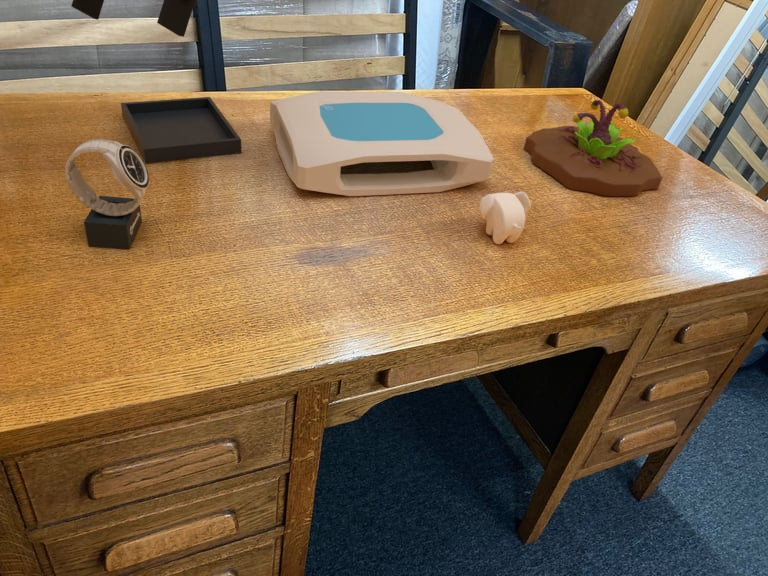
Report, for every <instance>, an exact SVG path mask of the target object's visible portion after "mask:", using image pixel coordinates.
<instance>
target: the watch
mask: <svg viewBox="0 0 768 576" xmlns="http://www.w3.org/2000/svg"><path fill="white" fill-rule="evenodd" d="M89 152H90V153H100V154H102V157H103V158H104V160H105V161H107V163H108V164H109V167H110V169H111V171H112V174H113V176H114V177H115V179H116V181H117V182H118V183H119V184H120V185H121V186H122V188H124V189H125V190H127V191H129V192H131V194H132V195H133V196H134V198H133V197H121V196H120V197H119V196H108V195H99V196H97V192H96V191H95V190H94V189H93V187H91V185H90V184H89V183H88V182H87V180H86V179H85V177H84V175H83V173H82V172H81V171H80V170H79V169H78V166H77V164H76V160H75V159H76V157H78V156H80V155H81V154H85V153H89ZM64 172H65V181H66V183H67V185H68V187H69V188H70V191H72V193H73V194H74V196H75V197H76V198H77V199H78V200H79V201H80V202H81V203H82V204H83V206H84V207H86V209H89V208H90V211H89V213H88V214H87V216H86V217H85V219H84V221H83V225H84V226H83V227H84V230H85V236H86V241H87V245H88V247H90V248H91V247H92V248H106V249H118V250H119V249H120V250H131V247H132V245H133V243H134V241H135V239H136V236H137V234H138V232H139V229H140V227H141V225H142V223H143V221H142V220H143V219H142V212H141V211H142V210H141V202H142V200H143V198H144V196H145V194H146V191H147V189H148V187H149V185H150V175H149V170H148V168H147V166H146V163H145V161H144V159H143V157H142V156H141V155H140V154H139V153H138V152H137V151H136V150H135V149H134V148H133V147H132V146H130V145H127V144H122V143H120V142H118V141H116V140H111V139H104V138H95V139H93V138H92V139H89V140H87V141H84V142H82V143H81V144H79V145H78V146H77V147H76V148H75V149H74V150H73V152H72V153H71V155H70V156H69V158H68V159H67V160H66V163H65V167H64Z"/></svg>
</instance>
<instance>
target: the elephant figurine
mask: <svg viewBox="0 0 768 576" xmlns="http://www.w3.org/2000/svg"><path fill="white" fill-rule="evenodd" d="M531 208H532V203H531V200H530V198H529V196H528V194H526V192H524V191H522V190H521V191H517V192H516V193H511V192H494V193H487V194H486V195H484V196H483V197H482V198H481V199H480V202H479V207H478V209H479V213H480V216H481V217H482V219H485V218H486V224H485V225H486V226H485V233H486V235H488V236H492V241H493V243H494V244H496V245H501V244H503V243H504V241H506V242H507V243H508V244H513V243H515V242H516V241H517V240H518V239H519V237H520V236H521V234H522V233H523V231H524V228H525V226H526V225H525V224H526V215H527V214H528V213H529V212H530V211H531Z"/></svg>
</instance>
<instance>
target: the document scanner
mask: <svg viewBox="0 0 768 576" xmlns="http://www.w3.org/2000/svg"><path fill="white" fill-rule="evenodd" d="M269 103H270V104H269V123H270V124H271V127H272V128H271V129H272V130H273V133H274V137H275V141H276V142H275V143H276V149H277V152H278V154H279V157H280V159H281V161H282V164H283V166H284V170H285V172H286V174H287V176H288V177H289V178H290V180H291V181H292V183H294V185H295V186H296V188H299V189H301V190H304V191H305V190H306V191H312V192H319V193H324V194H325V193H326V194H331V195H332V194H333V195H340V196H345V197H359V196H360V197H363V196H364V197H365V196H366V197H367V196H384V195H385V196H387V195H388V196H389V195H405V194H407V195H408V194H424V193H425V194H426V193H427V194H428V193H442V192H446V191H450V190H454V189H458V188H462V187H466V186H469V185H474V184H478V183H481V182H485V181H488V180H489V179H490V176H491V174H492V169H493V165H494V162H495V158H494V156H493V155H492V152H491V151H490V149H489V147H488V145H487V143H486V141H485V140H484V138H483V135H482V134H481V132H480V131H479V129H477V127H475V125H473V124H472V122H470V120H469V119H468V118H467V117H466V116H465V115H464V114H463V113H462V112H461V111H460V110H459V109H458V107H455V106H452V105H450V104H447V103H445V102H443V101H440V100H437V99H434V98H429V97H425V96H421V95H416V94H412V93H409V92H403V91H339V90H337V91H336V90H335V91H334V90H333V91H327V90H325V91H324V90H323V91H322V90H321V91H313V92H308V93H303V94H299V95H298V94H297V95H294V96H293V95H292V96H289V97H285V98H279V99H276V100H275V99H274V100H272V101H270V102H269ZM421 161H424V162H425V161H430V162H431V164H432V169H426V170H417V171H406V172H386V173H384V172H383V173H341V171H342V169H341V168H342V167H345V166H351V165H357V164H362V163H385V162H389V163H391V162H421Z"/></svg>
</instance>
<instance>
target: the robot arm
mask: <svg viewBox="0 0 768 576" xmlns="http://www.w3.org/2000/svg"><path fill="white" fill-rule="evenodd" d="M197 1H198V0H163V2H162V6H161V8H160V12H159V15H158V19H157V21H156V23H157V24H158V25H160V26H161V27H163V28H165V29H166V30H168V31H170V32H171V33H173V34H175V35H177V36H178V37H183V38H185V35H186V32H187V30H188V29H187V27H188V26H189V22H190V19H191V16H192V14H193V13H192V12H193V9H194V6H195V3H196V2H197ZM104 2H105V0H72V3H71V8H73V9H75V10H77V11H78V12H81V13H83V14H84V15H85V16H88V17H89V18H92V19H93V20H97V21H98V20H99V19H100V16H101V12H102V8H103V5H104Z"/></svg>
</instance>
